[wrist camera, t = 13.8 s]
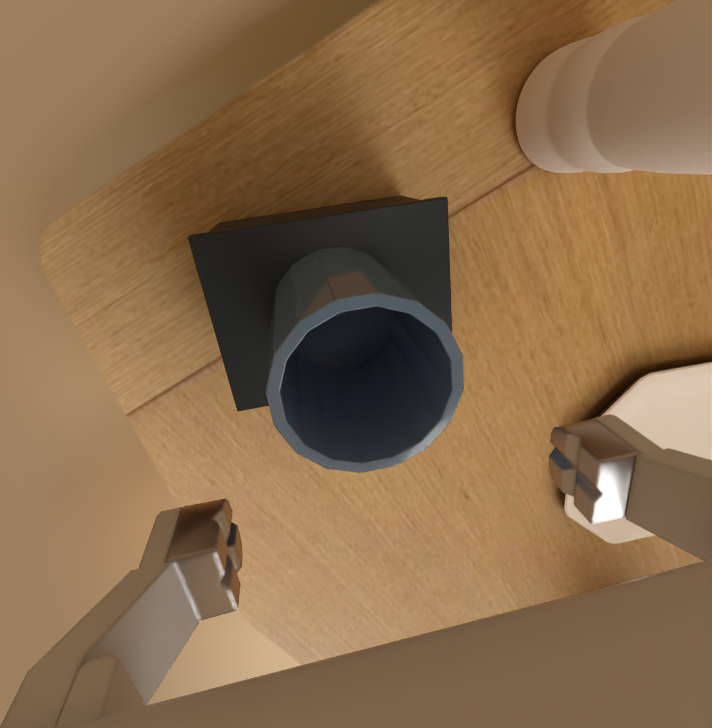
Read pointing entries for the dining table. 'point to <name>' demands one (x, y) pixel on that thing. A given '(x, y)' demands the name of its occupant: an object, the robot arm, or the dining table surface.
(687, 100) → the water bottle
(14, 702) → the robot arm
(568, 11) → the dining table surface
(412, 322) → the cup
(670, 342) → the dining table surface
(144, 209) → the dining table surface
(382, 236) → the container
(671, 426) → the plate
